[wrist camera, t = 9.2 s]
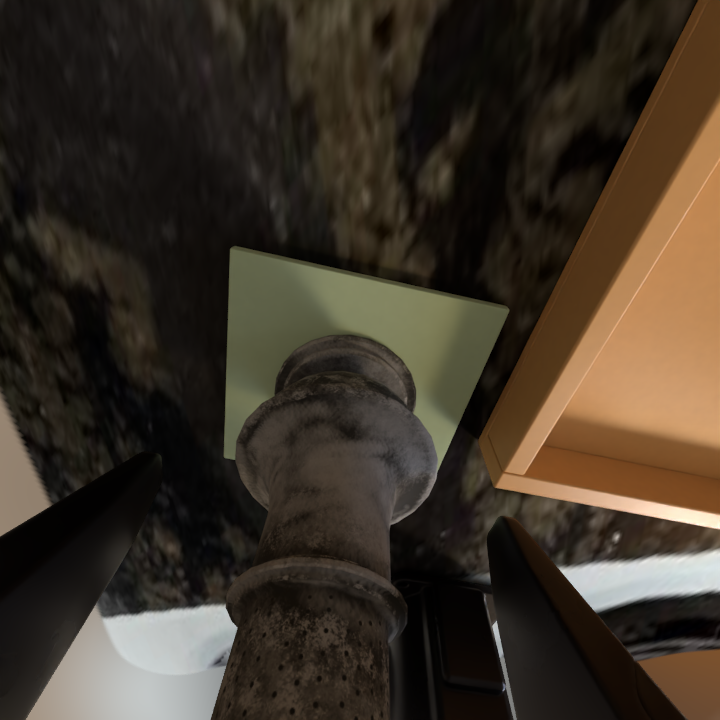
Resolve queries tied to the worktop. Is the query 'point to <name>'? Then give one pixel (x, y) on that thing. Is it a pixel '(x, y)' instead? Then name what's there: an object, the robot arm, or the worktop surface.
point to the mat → (351, 317)
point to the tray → (633, 322)
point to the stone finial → (325, 535)
